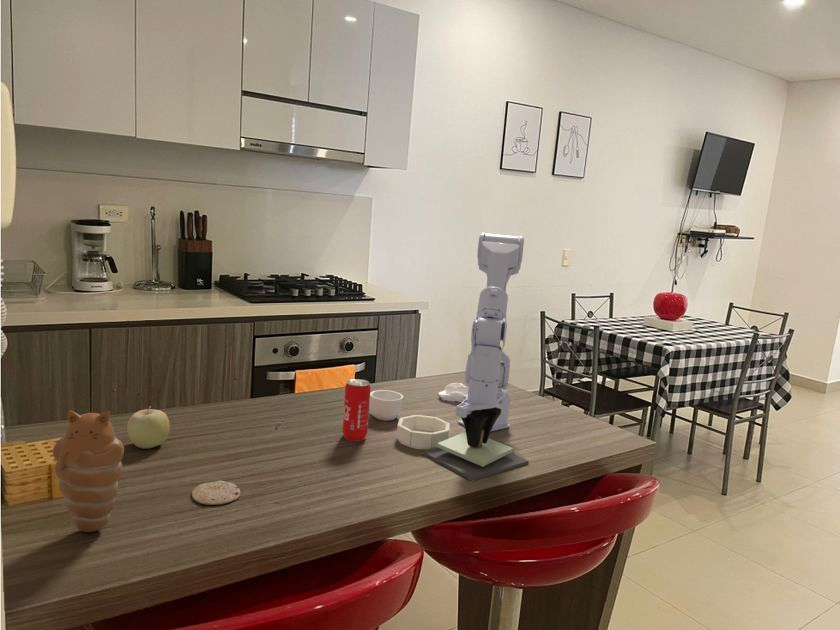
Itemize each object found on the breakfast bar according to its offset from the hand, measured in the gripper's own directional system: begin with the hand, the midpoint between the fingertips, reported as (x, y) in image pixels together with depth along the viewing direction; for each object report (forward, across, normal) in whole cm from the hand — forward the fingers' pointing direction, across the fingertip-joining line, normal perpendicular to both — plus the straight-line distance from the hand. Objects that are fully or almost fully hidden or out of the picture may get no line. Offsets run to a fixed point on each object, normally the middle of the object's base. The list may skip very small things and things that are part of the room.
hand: (477, 443), depth 126 cm
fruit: (+3, +44, -45) cm, 63 cm away
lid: (+1, 0, 0) cm, 1 cm away
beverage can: (+3, +11, -24) cm, 26 cm away
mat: (+3, 0, 0) cm, 3 cm away
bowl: (+3, 0, -13) cm, 14 cm away
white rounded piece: (+4, -30, -26) cm, 40 cm away
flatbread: (+4, +46, -20) cm, 50 cm away
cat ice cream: (+3, +65, -22) cm, 69 cm away
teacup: (+3, -4, -29) cm, 29 cm away
